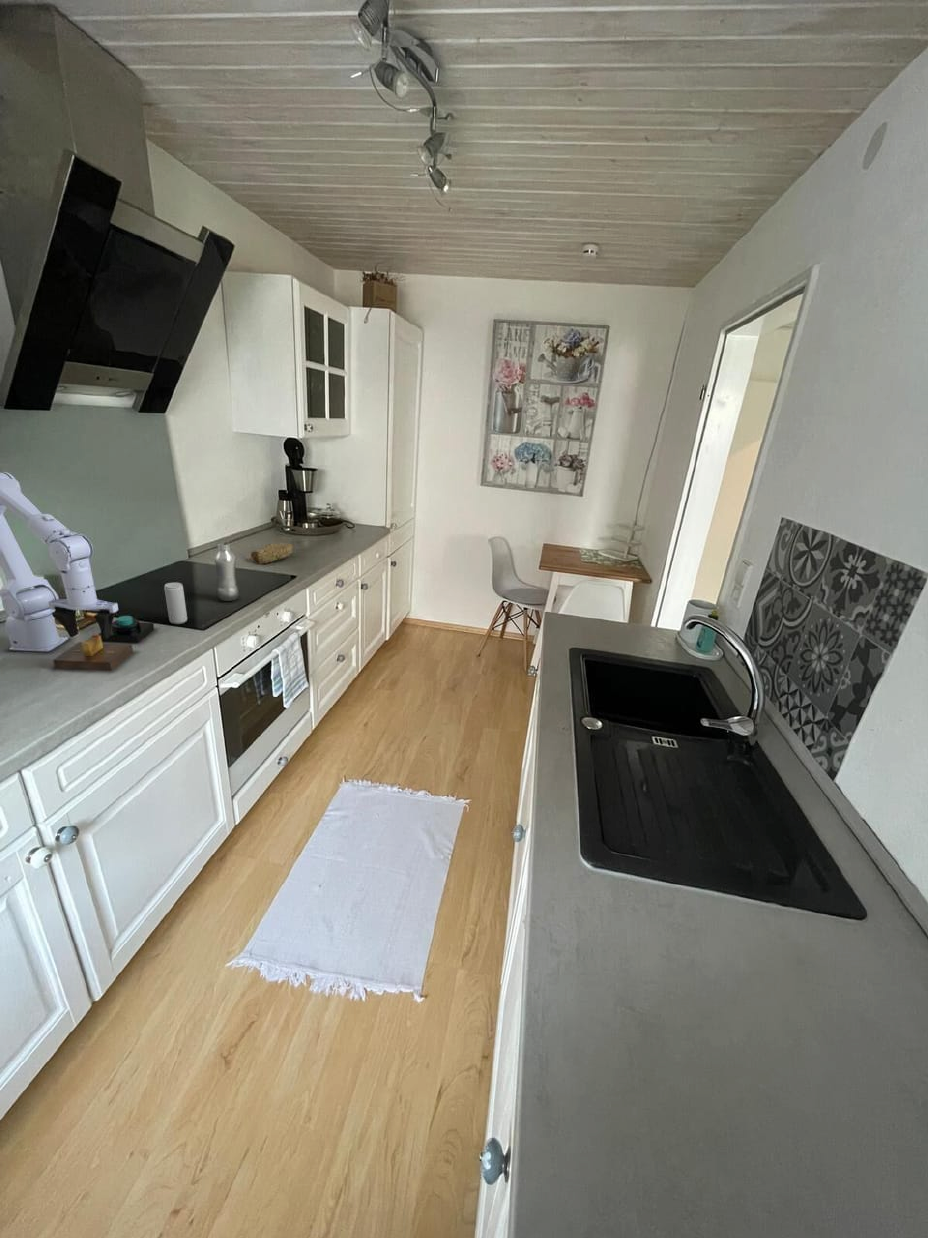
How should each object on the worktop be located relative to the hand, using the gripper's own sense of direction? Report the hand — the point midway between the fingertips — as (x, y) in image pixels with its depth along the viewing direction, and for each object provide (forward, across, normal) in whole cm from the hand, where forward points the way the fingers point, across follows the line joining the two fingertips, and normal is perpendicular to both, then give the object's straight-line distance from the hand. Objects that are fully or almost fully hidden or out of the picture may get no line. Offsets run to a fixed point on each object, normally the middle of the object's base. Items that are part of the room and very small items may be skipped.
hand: (90, 636), depth 122 cm
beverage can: (+7, -9, -26) cm, 28 cm away
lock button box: (+7, 0, -15) cm, 16 cm away
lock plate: (+7, 0, 0) cm, 7 cm away
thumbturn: (+4, 0, 0) cm, 4 cm away
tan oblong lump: (+7, -19, -96) cm, 98 cm away
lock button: (+3, 0, -15) cm, 15 cm away
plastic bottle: (+7, -17, -46) cm, 49 cm away
